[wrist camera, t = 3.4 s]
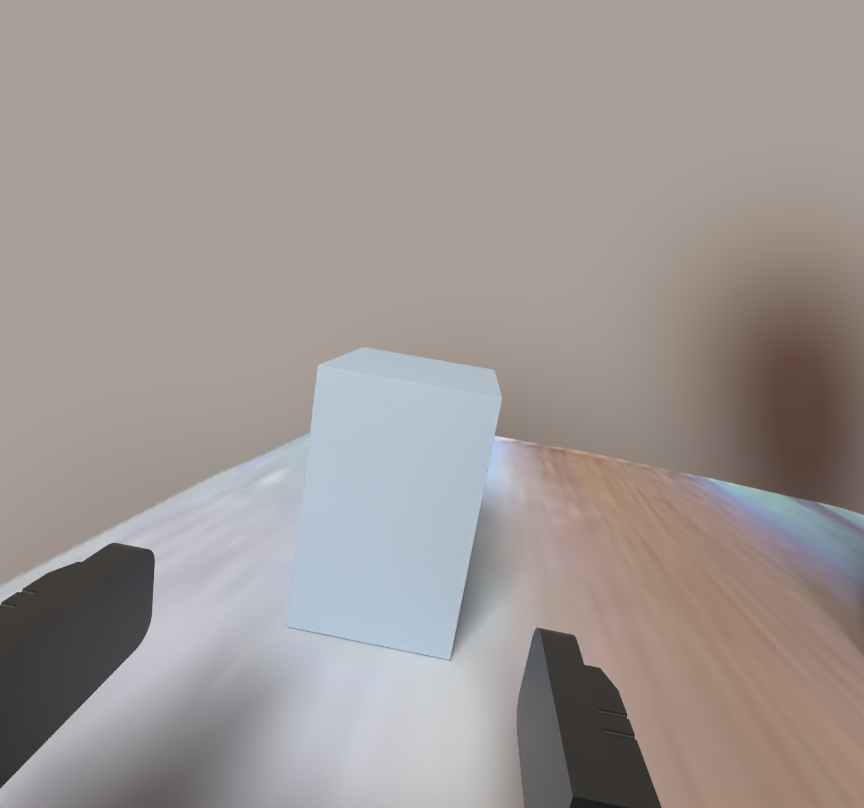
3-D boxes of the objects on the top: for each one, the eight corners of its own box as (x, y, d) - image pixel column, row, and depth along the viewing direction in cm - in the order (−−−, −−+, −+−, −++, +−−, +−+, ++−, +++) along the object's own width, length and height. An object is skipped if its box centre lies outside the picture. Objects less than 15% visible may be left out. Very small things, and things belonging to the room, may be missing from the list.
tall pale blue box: (336, 541, 26) (363, 347, 24) (456, 564, 26) (494, 370, 24) (287, 626, 19) (318, 365, 17) (449, 660, 19) (501, 397, 17)
